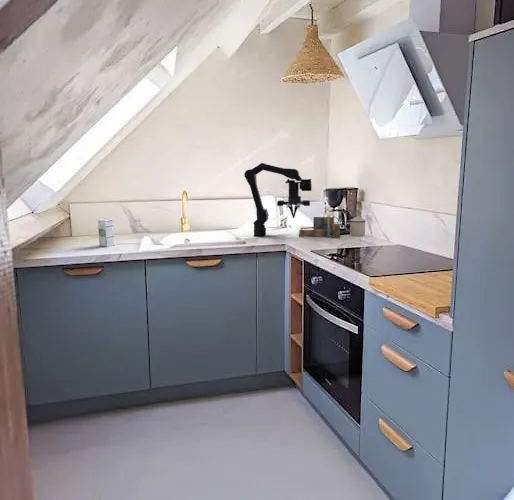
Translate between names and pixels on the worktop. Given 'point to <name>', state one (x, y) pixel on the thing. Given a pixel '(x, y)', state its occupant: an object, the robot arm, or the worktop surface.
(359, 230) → the teacup with lid
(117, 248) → the worktop surface
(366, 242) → the worktop surface
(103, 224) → the syrup box
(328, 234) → the gauge paddle
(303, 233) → the walnut bar
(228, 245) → the worktop surface
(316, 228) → the gauge housing
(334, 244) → the worktop surface
